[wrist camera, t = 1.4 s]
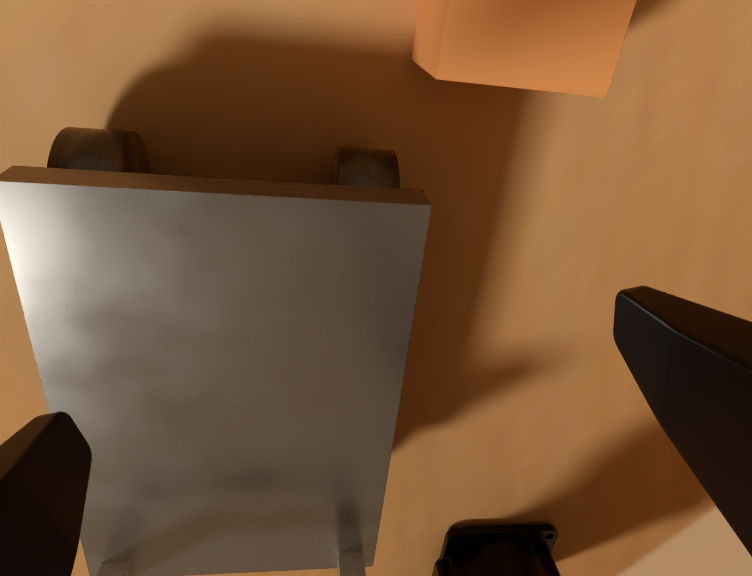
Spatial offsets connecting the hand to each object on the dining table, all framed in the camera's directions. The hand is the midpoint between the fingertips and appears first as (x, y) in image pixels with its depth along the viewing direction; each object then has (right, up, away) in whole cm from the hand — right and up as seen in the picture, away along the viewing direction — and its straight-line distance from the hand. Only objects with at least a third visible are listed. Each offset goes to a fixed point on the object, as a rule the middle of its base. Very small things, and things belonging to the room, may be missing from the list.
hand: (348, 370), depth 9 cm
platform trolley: (-5, -1, +14) cm, 15 cm away
